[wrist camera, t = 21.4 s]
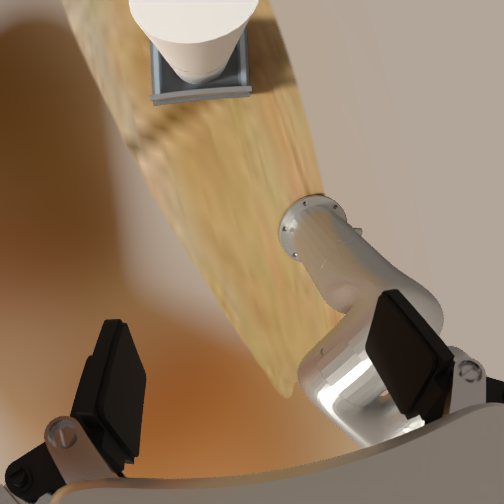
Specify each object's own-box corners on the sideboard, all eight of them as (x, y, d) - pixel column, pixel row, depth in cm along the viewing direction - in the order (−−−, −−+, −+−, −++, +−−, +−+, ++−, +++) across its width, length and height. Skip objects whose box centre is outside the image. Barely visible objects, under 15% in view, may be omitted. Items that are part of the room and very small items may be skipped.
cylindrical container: (187, 29, 30) (170, -66, 8) (235, 48, 33) (281, -30, 11) (163, 73, 33) (106, 24, 11) (212, 92, 35) (223, 62, 13)
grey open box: (245, 97, 40) (260, 94, 30) (158, 106, 38) (142, 105, 28) (242, 26, 34) (255, 0, 24) (154, 33, 33) (139, 10, 22)
